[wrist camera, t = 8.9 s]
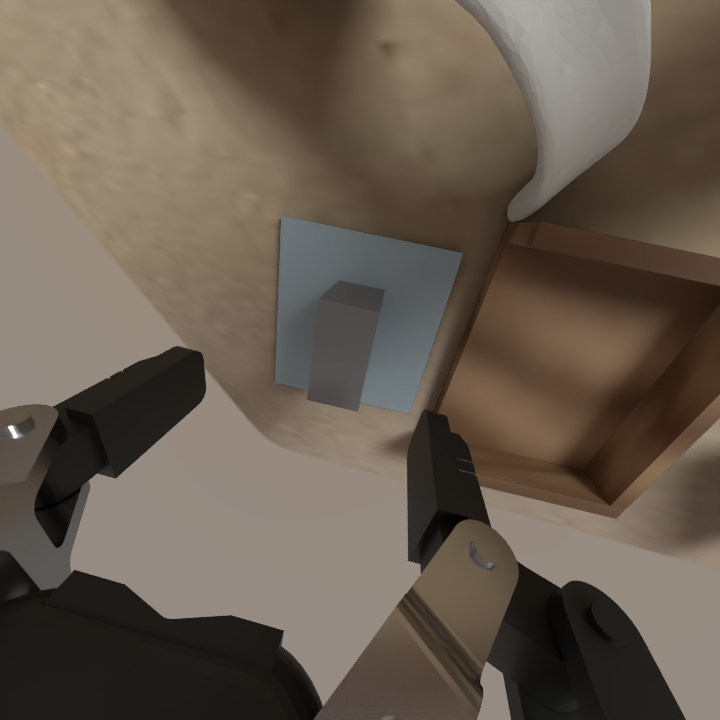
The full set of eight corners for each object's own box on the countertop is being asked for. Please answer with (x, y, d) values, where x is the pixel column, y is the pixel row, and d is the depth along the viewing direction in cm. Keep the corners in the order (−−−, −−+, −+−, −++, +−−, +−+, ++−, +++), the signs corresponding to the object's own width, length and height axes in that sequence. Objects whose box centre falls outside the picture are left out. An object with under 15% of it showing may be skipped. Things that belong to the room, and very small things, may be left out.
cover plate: (287, 216, 17) (235, 211, 12) (460, 251, 17) (489, 264, 11) (279, 376, 22) (242, 423, 17) (409, 406, 22) (412, 463, 17)
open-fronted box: (508, 222, 15) (541, 221, 12) (745, 271, 15) (855, 286, 11) (424, 434, 22) (429, 473, 19) (580, 471, 22) (615, 518, 18)
